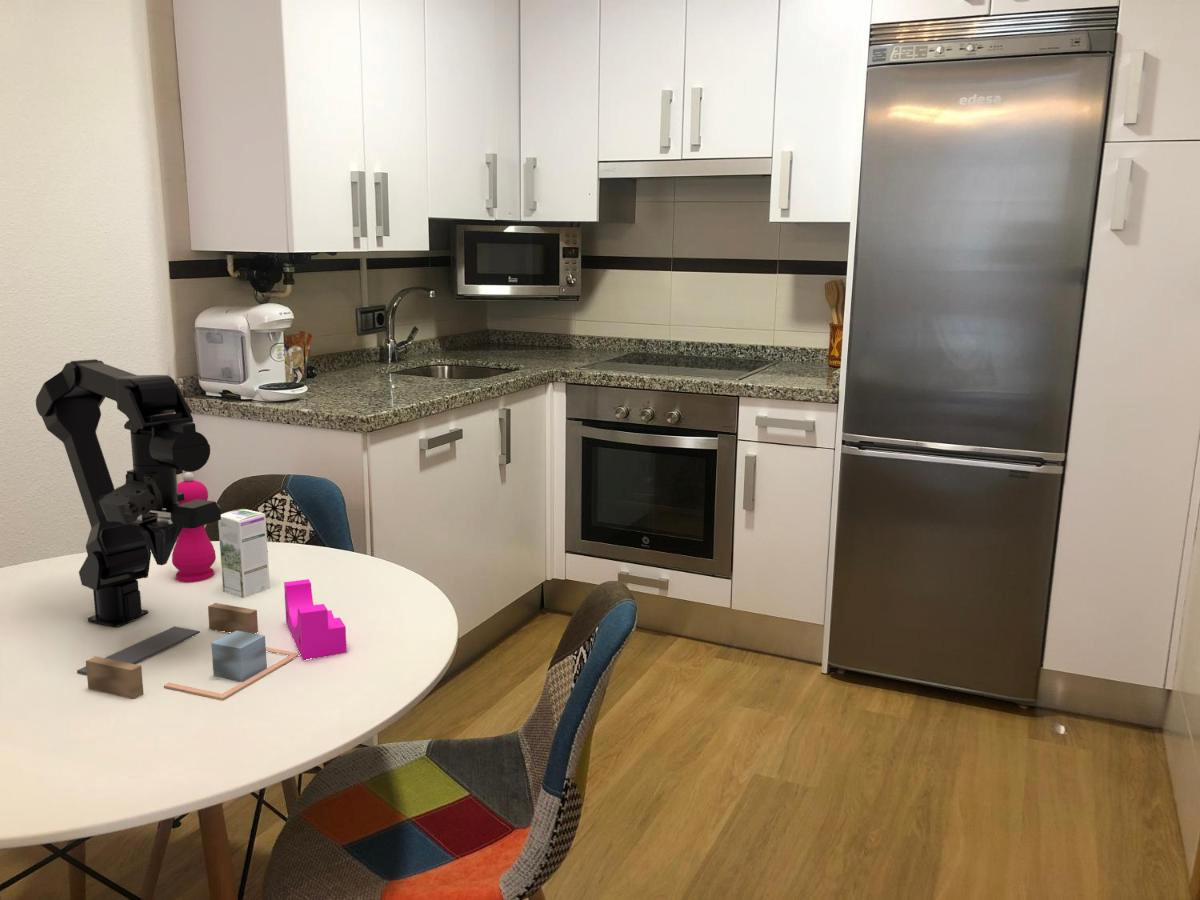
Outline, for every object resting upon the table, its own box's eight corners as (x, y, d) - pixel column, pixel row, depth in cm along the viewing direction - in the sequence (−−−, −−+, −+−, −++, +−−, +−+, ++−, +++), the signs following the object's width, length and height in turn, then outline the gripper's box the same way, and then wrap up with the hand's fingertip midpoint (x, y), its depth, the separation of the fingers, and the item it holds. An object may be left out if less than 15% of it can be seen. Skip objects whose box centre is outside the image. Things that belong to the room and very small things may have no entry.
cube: (213, 676, 136) (211, 643, 135) (238, 663, 141) (236, 630, 140) (242, 682, 134) (240, 648, 133) (266, 668, 139) (265, 635, 138)
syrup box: (271, 593, 169) (267, 512, 167) (243, 602, 165) (238, 519, 162) (250, 586, 172) (245, 507, 170) (221, 596, 168) (216, 514, 165)
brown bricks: (88, 688, 131) (85, 660, 131) (216, 627, 154) (215, 602, 153) (133, 698, 129) (131, 670, 128) (258, 634, 151) (256, 610, 150)
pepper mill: (207, 588, 171) (200, 477, 167) (166, 587, 171) (158, 476, 167) (223, 575, 178) (217, 468, 174) (184, 574, 178) (176, 467, 175)
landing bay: (163, 687, 132) (163, 685, 132) (245, 645, 147) (245, 643, 147) (223, 700, 129) (222, 698, 129) (300, 655, 143) (300, 653, 143)
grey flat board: (77, 673, 136) (76, 670, 136) (174, 628, 153) (174, 626, 153) (104, 678, 134) (104, 676, 134) (199, 633, 151) (199, 631, 151)
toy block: (346, 655, 144) (344, 607, 143) (303, 662, 141) (300, 613, 140) (326, 621, 157) (324, 577, 156) (286, 627, 155) (284, 582, 153)
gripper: (59, 467, 139) (69, 572, 142) (161, 479, 132) (169, 589, 135) (122, 453, 149) (130, 551, 152) (220, 463, 142) (226, 566, 145)
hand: (161, 564), depth 146 cm, fingers closed
